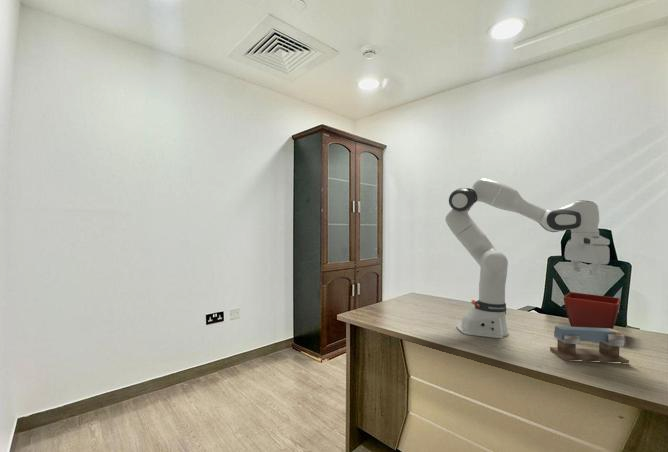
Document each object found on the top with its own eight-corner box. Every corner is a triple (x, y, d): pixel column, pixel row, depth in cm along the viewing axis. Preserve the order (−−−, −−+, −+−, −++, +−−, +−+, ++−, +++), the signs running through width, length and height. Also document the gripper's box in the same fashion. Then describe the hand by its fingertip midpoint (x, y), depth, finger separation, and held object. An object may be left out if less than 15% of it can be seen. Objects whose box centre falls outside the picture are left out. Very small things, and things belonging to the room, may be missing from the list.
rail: (561, 339, 112) (561, 329, 112) (554, 336, 116) (554, 325, 116) (619, 342, 109) (619, 332, 110) (610, 338, 113) (610, 328, 113)
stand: (565, 360, 109) (565, 333, 109) (550, 350, 118) (550, 325, 118) (629, 364, 107) (629, 336, 107) (608, 354, 116) (608, 328, 116)
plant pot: (569, 323, 154) (570, 291, 154) (620, 333, 140) (620, 297, 140) (562, 331, 141) (563, 296, 141) (618, 343, 127) (618, 304, 127)
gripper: (560, 238, 132) (560, 269, 132) (595, 240, 112) (595, 276, 111) (575, 239, 131) (575, 269, 131) (613, 240, 111) (613, 277, 111)
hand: (584, 273), depth 121 cm, fingers open, 8 cm apart
